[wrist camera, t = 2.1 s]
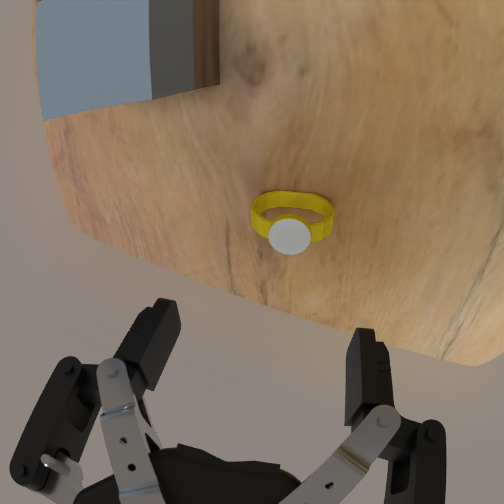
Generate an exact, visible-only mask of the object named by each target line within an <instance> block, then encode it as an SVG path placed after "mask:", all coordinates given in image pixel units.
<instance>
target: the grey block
mask: <svg viewBox="0 0 504 504" xmlns="http://www.w3.org/2000/svg"><path fill="white" fill-rule="evenodd" d="M36 58H37V74H38V86H39V95H40V104H41V111H42V118H43V121H46V120H50V119H54V118H58V117H62V116H66V115H70V114H74V113H78V112H83V111H87V110H92V109H97V108H103V107H108V106H114V105H120V104H126V103H133V102H140V101H148V100H154V99H158V98H161V97H165V96H169V95H173V94H177V93H181V92H185V91H190V90H194V89H195V79H194V46H193V0H41V1H40V2H38V3H37V11H36Z"/></svg>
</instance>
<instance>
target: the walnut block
mask: <svg viewBox="0 0 504 504" xmlns="http://www.w3.org/2000/svg"><path fill="white" fill-rule="evenodd" d="M193 46H194V79H195V89H199V88H203V87H208V86H214V85H219V84H220V73H219V0H193Z"/></svg>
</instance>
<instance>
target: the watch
mask: <svg viewBox="0 0 504 504" xmlns="http://www.w3.org/2000/svg"><path fill="white" fill-rule="evenodd" d="M279 206H282V207H292V208H301V209H311V210H313V211H315V212H317V213H319V214H321V215H322V216H323V217H324V218H325V219H323V220H322V221H320V222H317V223H311V224H308V222H307V221H306V220H305V219H304V218H302V217H300V216H299V215H295V214H283V215H280V216H278V217H276V218H275V219H274V220H273V221H272V220H270V219H267V218H265V217H263V216H261V213H262V212H264V211H265V210H267V209H271V208H275V207H279ZM334 212H335V209H334V207H333V206H332V205H331V204H330V202H329V201H328V200H326V199H325V198H323V197H321V196H319V195H317V194H313V193H303V192H293V191H282V190H276V191H271V192H267V193H265V194H262V195H261V196H259V197H257V198H256V199H254V200H253V203H252V206H251V225H252V226H253V228H254V229H255V231H256V232H257V233H258V234H259V235H261V236H263V237H265V238H267V239H268V240H269V242H270V244H271V246H272V247H273V248H274V249H275V250H276V251H278V252H280V253H282V254H286V255H295V254H299V253H301V252H303V251H304V250H306V248H307V247H308V246H309V244H310V243H313V242H318V241H321V240H322V239H324V238H325V237H326V236H328V235H329V234H330V233H331V232H332V227H333V220H334Z"/></svg>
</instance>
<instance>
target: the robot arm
mask: <svg viewBox="0 0 504 504" xmlns="http://www.w3.org/2000/svg"><path fill="white" fill-rule="evenodd" d="M180 330H181V321H180V317H179V312H178V308H177V304H176V301H174V300H169V299H164V298H158V299H157V301H156V302H155V304H154V306H153V307H152V308H151V307H147V308H145V309H144V310H143V311H142V312H141V313H139V314H138V316H137V318H136V320H135V321H134V324H132V326H131V328H130V331H128V333H127V334H126V336H125V338H124V340H123V342H122V343H121V345H120V347H119V348H118V350H117V352H116V353H115V355H114V356H113V358H110V359H106V360H104V361H103V362H102V363H100V364H99V365H94V364H81V362H80V361H79V360H78V359H77V358H76V357H72V356H69V357H65V358H63V359H62V360H60V362H59V363H58V364H57V366H56V368H55V369H54V371H53V373H52V375H51V377H50V379H49V380H48V382H47V384H46V386H45V388H44V390H43V392H42V394H41V396H40V398H39V400H38V402H37V404H36V406H35V408H34V410H33V412H32V414H31V416H30V418H29V420H28V422H27V424H26V427H25V429H24V431H23V433H22V436H21V438H20V440H19V443H18V445H17V447H16V450H15V452H14V455H13V457H12V460H11V462H10V474H11V476H12V478H13V480H14V481H15V482H16V483H18V484H19V485H22V486H24V487H26V488H28V489H30V490H32V491H34V492H36V493H39V494H42V495H44V496H45V497H47V498H49V499H50V500H52V501H53V502H55V503H57V504H339V503H340V502H341V501H342V500H343V499H344V498H345V497H346V496H347V495H348V493H350V491H351V490H352V489H353V488H354V487H355V486H356V485H357V484H358V483H359V482H360V480H361V479H362V478H363V477H364V476H365V475H366V473H367V472H368V470H369V467H370V466H371V464H372V463H373V462H374V461H375V459H376V458H377V457H378V458H382V459H385V460H388V461H389V462H388V473H387V483H386V492H385V500H384V504H445V492H446V432H445V429H444V427H443V425H442V424H441V423H440V422H439V421H436V420H432V419H431V420H427V421H424V422H423V423H422V424H421V423H418V422H415V421H411V420H408V419H406V418H404V417H402V416H401V415H400V414H399V413H398V411H397V410H396V409H395V406H394V400H393V387H392V379H391V378H392V377H391V368H390V358H389V352H388V350H387V348H386V346H385V344H384V343H383V342H376V339H375V331H374V329H368V328H356V330H355V333H354V335H353V337H352V340H351V342H350V345H349V347H348V350H347V354H346V396H345V424H344V425H345V426H352V427H351V434H350V435H349V437H348V438H347V439H346V440H345V441H344V442H343V443H342V444H341V445H340V446H339V447H338V448H337V450H335V452H334V453H333V454H332V455H331V456H330V457H329V458H328V459H327V460H326V461H325V462H324V463H323V464H322V465H321V466H320V467H318V468H317V469H316V470H315V471H314V472H313V473H312V474H311V475H310V476H309V477H308V478H307V479H306V480H304V481H303V482H302V483H301V482H300V481H299V480H298V479H297V478H296V477H295V476H293V475H292V474H290V473H288V472H286V471H284V470H281V469H280V464H273V463H265V462H259V461H243V462H227V461H224V460H221V459H219V458H217V457H215V456H213V455H211V454H209V453H207V452H205V451H204V450H201V449H197V448H193V447H190V446H186V445H183V444H179V443H178V445H177V448H165V449H163V447H162V445H161V443H160V440H159V438H158V436H157V434H156V432H155V430H154V427H153V424H152V422H151V419H150V415H149V412H148V409H147V406H146V403H145V399H144V396H143V394H144V392H145V390H146V389H148V390H151V391H154V389H155V387H156V385H157V383H158V380H159V378H160V376H161V374H162V371H163V369H164V367H165V365H166V362H167V360H168V358H169V356H170V354H171V351H172V349H173V347H174V345H175V343H176V340H177V338H178V336H179V333H180ZM101 406H102V409H103V414H102V415H101V416H100V421H101V426H102V431H103V435H104V439H105V443H106V447H107V451H108V455H109V459H110V462H111V465H112V469H113V472H114V474H113V475H111V476H109V477H107V478H105V479H103V480H101V481H99V482H97V483H95V484H93V485H91V486H89V487H87V488H85V489H83V487H82V479H83V475H82V469H81V467H80V465H79V464H78V463H79V460H80V458H81V455H82V452H83V450H84V447H85V444H86V442H87V440H88V437H89V434H90V432H91V429H92V427H93V425H94V422H95V420H96V417H97V415H98V412H99V410H100V408H101Z"/></svg>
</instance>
